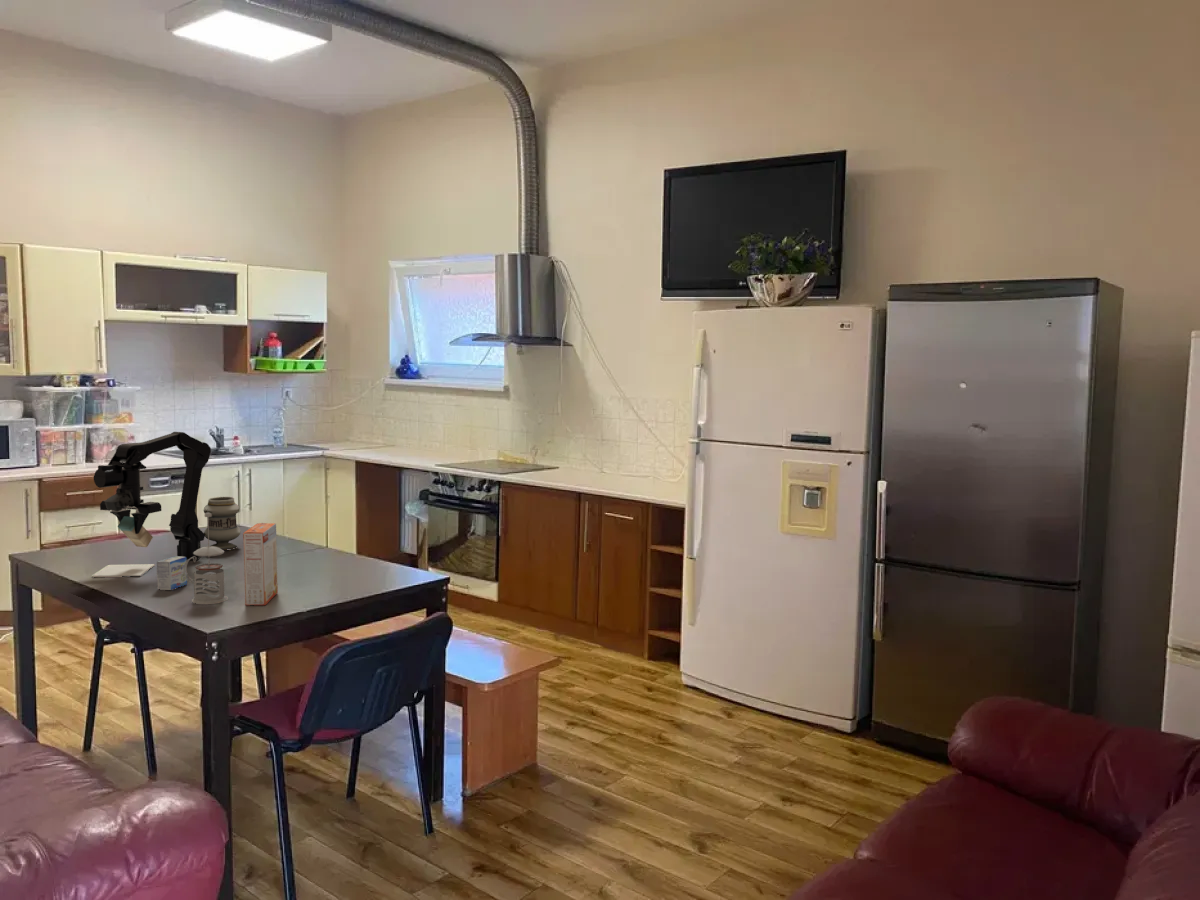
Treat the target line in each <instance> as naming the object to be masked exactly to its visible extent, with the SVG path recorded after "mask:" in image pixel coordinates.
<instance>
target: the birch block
mask: <svg viewBox="0 0 1200 900" xmlns="http://www.w3.org/2000/svg"><path fill="white" fill-rule="evenodd" d="M118 523H119V524H118V525H117V528H118V529H119V530H120V532H122V533H123V534H124V535H125V537H127V538H128V539H129V541H131V542H132V543H133V545H135V546H136V547H140V548H148V547H149V545H150V543H151V542H152V540H153V538H154V537H153V535H152V534H151V533H150V532H149V531H148V530H147V529H146V528H145V527H144V525H143V526H142V528H141V530H140V532H139V534H135V525H134V517H133V516H130V517H127V516H124V517H123V519H122V520H121V522H118Z"/></svg>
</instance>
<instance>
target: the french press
mask: <svg viewBox="0 0 1200 900" xmlns="http://www.w3.org/2000/svg"><path fill="white" fill-rule="evenodd" d="M204 517H205V518H207V517H208V539H207V546H202V547H201V548H200V549H198V550H196V551H194V553H193V554H194V555H196V556H201V557H215V556H221V555H224V553H225V551H223V550H222V549H220V548H218V547H213V546H211V545H210V540H209V517H212V514H211V513H209V512H208V513H204ZM196 556H193V557H195V560H194V558H193V557H191V558H190V559H192V558H193V560H192V561H193V562H194V563H196V562H197V560H196ZM190 559H188V560H186V563H185V565H186V573H187V577H186V575H185V565H184V575H185V577H186V579H187V582H190V583H191V584H193V592H194V593H193V595H194V596H193V598H192V599H191V600H192V602H193V603H192V602H191V603H192V604H195V603H196V604H195V605H214V604H220V603H224V602H226V601H227V600H229V597H228V596H227V595H225V570H224V569H222V567H223V564H221V563H215V562H214V563H212V562H211V561H208V563H202V564H201V563H200V564H197V565H195V567H194V568H195V569H196V571H194V573H193V574H194V577H193V579H192V578H191V577H190V575H189V574H188V569H187V568H188V567H187V566H188V563H189V562H190V561H191V560H190ZM207 573H209V574H207ZM209 586H210V587H209Z"/></svg>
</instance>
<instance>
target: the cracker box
mask: <svg viewBox="0 0 1200 900" xmlns="http://www.w3.org/2000/svg"><path fill="white" fill-rule="evenodd" d="M242 537H243V542H242V544H243V567H244V568H243V570H244V571H243V572H244V573H243V575H244V600H245V601H244V604H245V606H246V607H247V606H250V605H254V606H266V605H267V604H268V603H269V602H271V600H272V599H273V598H274V597H275V596H276V595H277V594H278V593H279V592H278V591H279V589H278V585H279V583H278V557H277V556H278V554H277V553H278V552H277V550H278V549H277V544H278V543H277V523H274V522H273V523H271V522H270V523H268V522H266V523H265V522H261V523H260V522H259V523H256V524H254V525H253V526H251V527H250V528H248V529H247V530H245V531H244V532H243V533H242Z"/></svg>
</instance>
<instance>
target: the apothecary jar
mask: <svg viewBox="0 0 1200 900" xmlns="http://www.w3.org/2000/svg"><path fill="white" fill-rule="evenodd" d="M208 512H209V513H211V514H212V517H209V541H212V542H215V543H213V544H211V545H210V546H213V547H218V548H220V549H222V550H227V549H233V548H236V547H237V548H238V546H237V545H236V544H233V543H232V542H230V541H234V540H235V539H238V538H239V536H241V534H242V533H241V528H240V527H239V526H237V514H238V513H239V512H240V506H239V505H238V504H237V503H236V502H235V498H234V497H233V496H217V497H215V496H214V497H210V498H208V501H207V504H206V505H205V506H204V508H203V513H204V514H205V513H208ZM206 519H207V527H206V528H205V530H204V531H203V533H204V534H205V537H204V538H206V539H207V540H208V517H206ZM237 548H236V549H237Z"/></svg>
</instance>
